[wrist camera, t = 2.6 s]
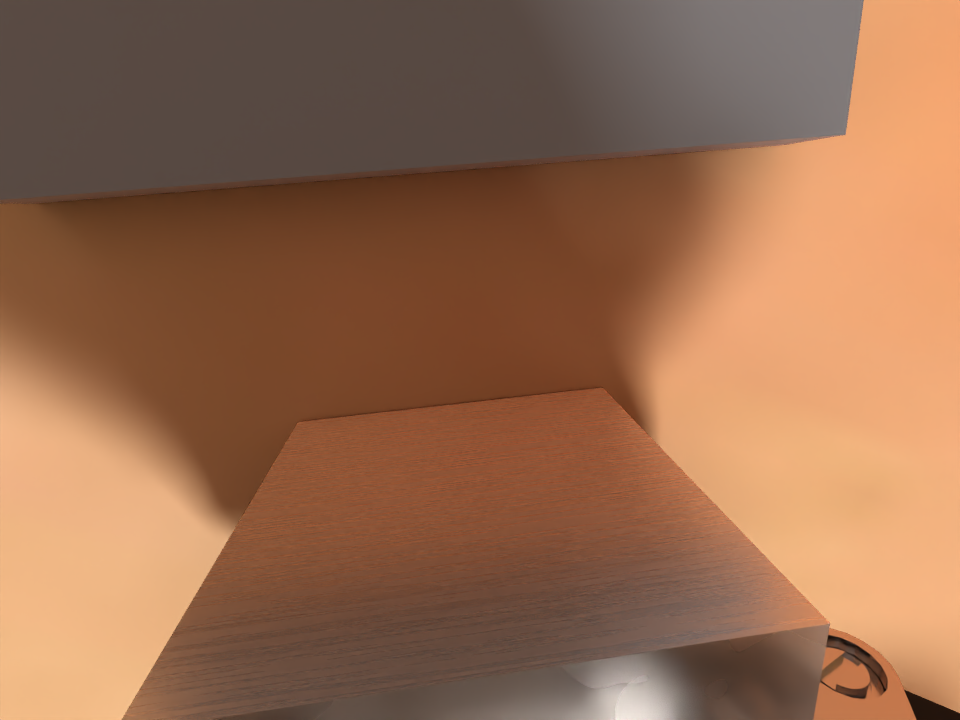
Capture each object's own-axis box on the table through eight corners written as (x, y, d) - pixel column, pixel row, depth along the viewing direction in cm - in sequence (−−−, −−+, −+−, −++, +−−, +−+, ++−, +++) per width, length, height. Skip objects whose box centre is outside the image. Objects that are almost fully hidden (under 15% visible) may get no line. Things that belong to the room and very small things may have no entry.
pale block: (602, 387, 11) (829, 623, 5) (603, 622, 13) (764, 1001, 7) (298, 421, 10) (111, 734, 4) (347, 660, 12) (271, 1106, 6)
